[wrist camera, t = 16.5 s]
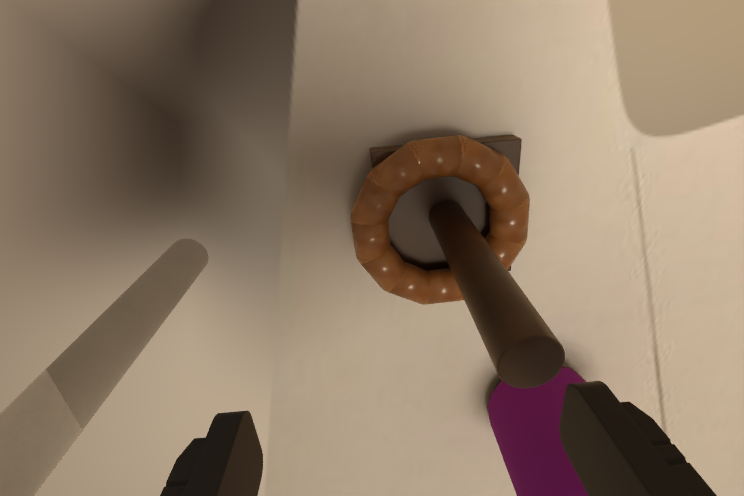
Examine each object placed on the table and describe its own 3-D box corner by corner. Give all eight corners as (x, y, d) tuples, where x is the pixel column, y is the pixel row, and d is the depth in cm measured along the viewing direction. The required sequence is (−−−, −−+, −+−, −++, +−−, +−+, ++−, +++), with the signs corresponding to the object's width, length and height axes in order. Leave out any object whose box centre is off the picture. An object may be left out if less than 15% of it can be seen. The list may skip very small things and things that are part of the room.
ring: (363, 299, 24) (363, 318, 22) (341, 145, 20) (339, 153, 18) (515, 282, 24) (528, 299, 22) (525, 123, 20) (541, 129, 18)
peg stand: (380, 273, 25) (401, 465, 13) (370, 147, 21) (385, 254, 10) (504, 261, 25) (639, 445, 13) (513, 134, 21) (709, 225, 9)
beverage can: (556, 434, 32) (657, 623, 21) (469, 422, 31) (529, 613, 20) (600, 364, 29) (745, 544, 18) (505, 348, 28) (598, 528, 17)
